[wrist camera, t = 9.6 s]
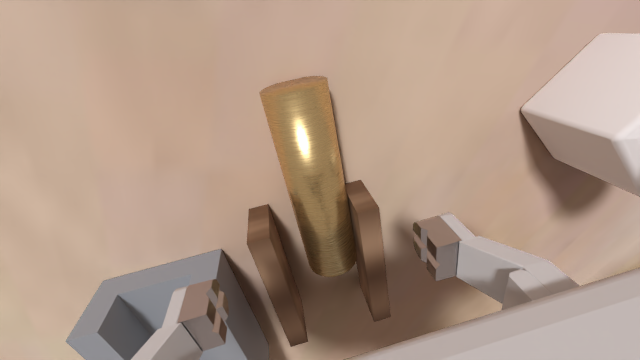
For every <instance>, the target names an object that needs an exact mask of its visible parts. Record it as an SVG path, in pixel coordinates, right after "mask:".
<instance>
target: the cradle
mask: <svg viewBox="0 0 640 360" xmlns="http://www.w3.org/2000/svg"><path fill="white" fill-rule="evenodd" d="M212 279H217V281H218V283H219V284H220V288H219V290H220V291H222V292H224V293H225V295H226V297H227V300H228V306H229V314H228V318H227V319H226V321H225V322H224V323H225V324H226V326H227V334H226V343H225V344H224V345H221V346H218V347H215V348H212V349H209V350H206V351H203V354H202V355H201V357H200V359H199V360H269V344H268V342H267V340H266V338H265V336H264V334H263V332H262V330H261V328H260V326H259V324H258V322H257V320H256V318H255V316H254V314H253V312H252V310H251V308H250V306H249V304H248V302H247V300H246V298H245V296H244V294H243V292H242V290H241V288H240V286H239V284H238V282H237V280H236V278H235V276H234V274H233V272H232V270H231V267H230V265H229V263H228V261H227V259H226V257H225V255H224V253H223V251H222V249H219V250H216V251H212V252H208V253H204V254H201V255H197V256H193V257H190V258H186V259H182V260H179V261H175V262H171V263H168V264H164V265H160V266H156V267H153V268H149V269H145V270H142V271H138V272H134V273H131V274H127V275H123V276H120V277H116V278H112V279H109V280H105V281H103V282H102V283H101V285H100V287H99V288H98V290H97V291H96V293H95V295H94V296H93V298H92V299H91V301H90V303H89V304H88V306H87V307H86V309H85V311H84V312H83V314H82V316H81V317H80V319H79V320H78V322H77V324H76V325H75V327H74V328H73V330H72V332H71V333H70V335H69V336H68V338H67V340H66V342H67V343H68V344H69V345H70V346H71V347H72V348H73V349H74V350H76V351H77V352H78V353H79V354H80V355H81V356H82V357H83V358H84V359H86V360H131V359H132V358H133V356H134V355H135V354H136V353H137V352H138V351H139V350H140V349H141V347H142V346H143V345H144V344H145V343H146V342H147V341H148V340H149V338H150V337H151V336H152V335H153V334H154V333H155V332H156V331H157V329H160V328H162V325H163V322H164V319H165V316H166V313H167V310H168V307H169V303H170V300H171V297H172V294H173V292H174V291H175V290H176V289H178V288H182V287H186V286H189V285H193V284H196V283H200V282H204V281H208V280H212Z"/></svg>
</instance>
